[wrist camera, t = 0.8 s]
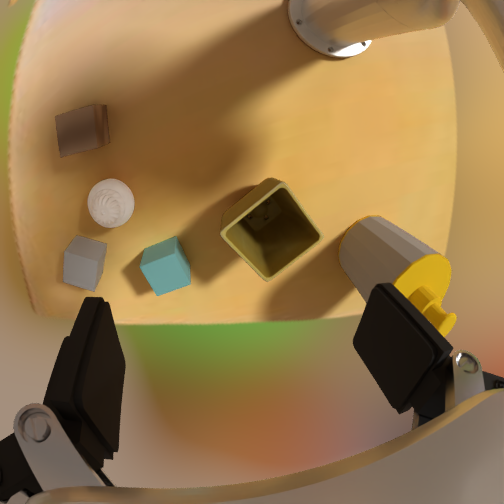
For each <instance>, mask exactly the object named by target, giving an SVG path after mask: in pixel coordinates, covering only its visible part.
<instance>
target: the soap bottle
mask: <svg viewBox="0 0 504 504" xmlns="http://www.w3.org/2000/svg"><path fill="white" fill-rule="evenodd" d="M338 258H339V262H340V266H341V267H342V268H343V270H344V271H345V273H346V274H347V275H348V277H349V278H350V280H351V281H352V283H353V284H354V285H355V287H356V288H357V290H358V291H359V293H360V294H361V296H362V297H363V299H364V300H365V302H366V303H367V302H368V299H369V296H370V293H371V290H372V289H373V288H374V287H375V285H376V284H379V283H388V282H389V283H392V284H393V285H394V286H395V287H396V288H397V289H398V290H399V291H400V292H401V293H402V294H403V295H404V296H405V297H406V298H407V299H408V300H409V301H410V302H411V303H412V304H413V305H414V306H415V307H416V308H417V309H418V310H419V311H420V312H421V313H422V314H423V315H424V316H425V317H426V319H427V320H429V321H430V322H431V323H432V325H433V326H434V327H435V328H436V329H437V330H438V331H439V332H440V333H441V335H442V336H443V337H445V336H446V335H447V334H448V332H449V331H450V330H451V329H452V327H453V326H454V324H455V322H456V315H455V314H454V313H449V314H447V313H446V312H445V311H444V310H443V309H442V308H441V303H442V301H441V300H442V299H443V298H444V295H445V293H446V291H447V288H448V286H449V283H450V277H451V267H450V264H449V261H448V259H447V258H445V257H444V256H443V255H441V254H440V253H438V252H437V251H435V250H434V249H432V248H431V247H429V246H428V245H426V244H425V243H423V242H421V241H420V240H418V239H417V238H415V237H414V236H412V235H411V234H409V233H407V232H406V231H404V230H403V229H401V228H399V227H398V226H396V225H394V224H393V223H391V222H389V221H388V220H386V219H384V218H383V217H381V216H367V217H364V218H362V219H360V220H358V221H356V222H355V223H354V224H353V225H352V226H351V227H350V228H349V229H348V230H347V231H346V233H345V235H344V236H343V238H342V240H341V242H340V246H339V251H338Z"/></svg>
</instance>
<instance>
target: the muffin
mask: <svg viewBox="0 0 504 504" xmlns="http://www.w3.org/2000/svg"><path fill="white" fill-rule="evenodd" d="M134 205H135V202H134V197H133V194H132V192H131V190H130V188H129V187H128V186H127V185H126V184H124V182H122V181H120V180H117V179H105V180H102V181H100V182H98V183H97V184H96V185H94V187H93V188H92V189H91V191H90V193H89V196H88V209H89V212H90V214H91V216H92V218H93V219H94V220H95V221H96V222H97V223H98V224H100V225H101V226H104V227H107V228H115V227H118V226H121V225H123V224H124V223H126V222H127V221H128V220H129V219H130V217H131V216H132V213H133V211H134Z"/></svg>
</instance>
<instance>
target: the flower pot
mask: <svg viewBox="0 0 504 504" xmlns="http://www.w3.org/2000/svg"><path fill="white" fill-rule="evenodd" d="M267 200H270V203H269V204H267V203H266V201H267ZM248 215H252V217H251V218H248ZM264 216H268V218H267V219H264ZM220 236H221V237H222V238H223V239H224V240H225V241H226V242H227V244H229V245H230V247H232V248H233V250H235V251H236V252H237V253H238V254H239V255H240V256H241V258H242V259H243V260H244V261H245V262H246V263H247V264H248V265H249V266H250V267H251V268H252V269H253V270H254V271H255V272H256V273H257V274H258V275H259V276H260V277H261V278H262V279H263V280H265V281H266V282H269V281H270V280H272V279H273V278H275V277H276V276H277V275H279V274H280V273H281V272H282V271H284V270H285V269H286V268H288V267H289V266H290V265H291V264H293V263H294V262H295V261H297V260H298V259H299V258H300V257H302V256H303V255H304V254H306V253H307V252H308V251H310V250H311V249H312V248H314V247H315V246H316V245H317V244H319V243H320V242H321V241H322V239H323V238H324V235H323V233H322V232H321V231H320V229H319V228H318V227H317V225H316V224H315V223H314V221H313V220H312V219H311V217H310V216H309V215H308V214H307V212H306V211H305V209H304V208H303V206H302V205H301V204H300V202H299V201H298V199H297V198H296V197H295V195H294V194H293V192H292V191H291V189H290V188H289V187H288V185H287V184H286V183H285V182H282V181H280V180H277V179H275V178H267V179H265V180H264V181H262V182H261V183H260V184H259V185H257V186H256V187H255V188H254V189H253V190H251V191H250V192H249V193H248V194H246V195H245V196H244V197H243V198H242V199H240V200H239V201H238V202H237V203H235V204H234V205H233V206H232V207H230V208H229V209H228V210H227V211H226V212H225V213H224V215H223V217H222V220H221V228H220Z"/></svg>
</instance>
